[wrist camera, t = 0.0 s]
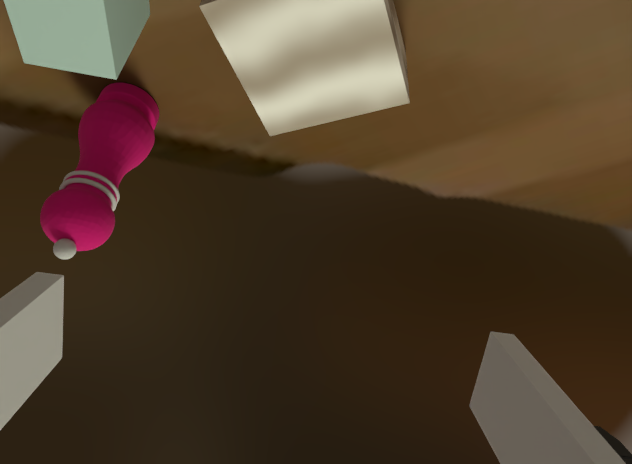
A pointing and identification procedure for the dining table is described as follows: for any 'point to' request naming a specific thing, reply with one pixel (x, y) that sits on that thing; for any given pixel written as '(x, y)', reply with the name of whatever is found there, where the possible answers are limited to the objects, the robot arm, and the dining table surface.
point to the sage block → (78, 33)
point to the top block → (311, 57)
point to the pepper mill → (100, 168)
